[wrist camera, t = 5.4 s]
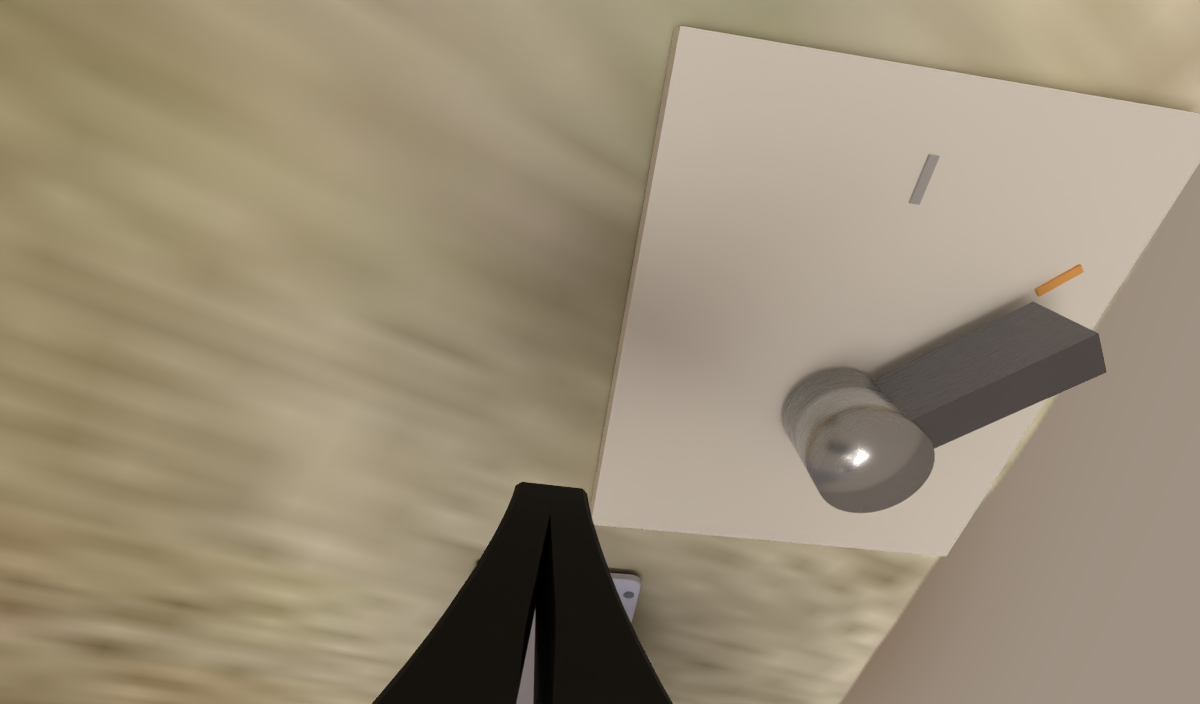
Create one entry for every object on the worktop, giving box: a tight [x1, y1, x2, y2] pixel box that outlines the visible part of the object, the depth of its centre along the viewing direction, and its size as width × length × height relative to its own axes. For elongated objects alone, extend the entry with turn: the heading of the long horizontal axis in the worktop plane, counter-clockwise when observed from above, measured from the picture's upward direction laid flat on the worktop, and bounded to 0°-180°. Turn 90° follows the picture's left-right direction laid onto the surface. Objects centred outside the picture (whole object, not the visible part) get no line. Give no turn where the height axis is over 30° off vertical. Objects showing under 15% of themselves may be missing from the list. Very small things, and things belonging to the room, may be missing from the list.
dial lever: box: [782, 302, 1106, 513], centre depth 17 cm, size 9×4×3 cm, turn 123°
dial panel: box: [591, 26, 1200, 556], centre depth 19 cm, size 18×16×1 cm
